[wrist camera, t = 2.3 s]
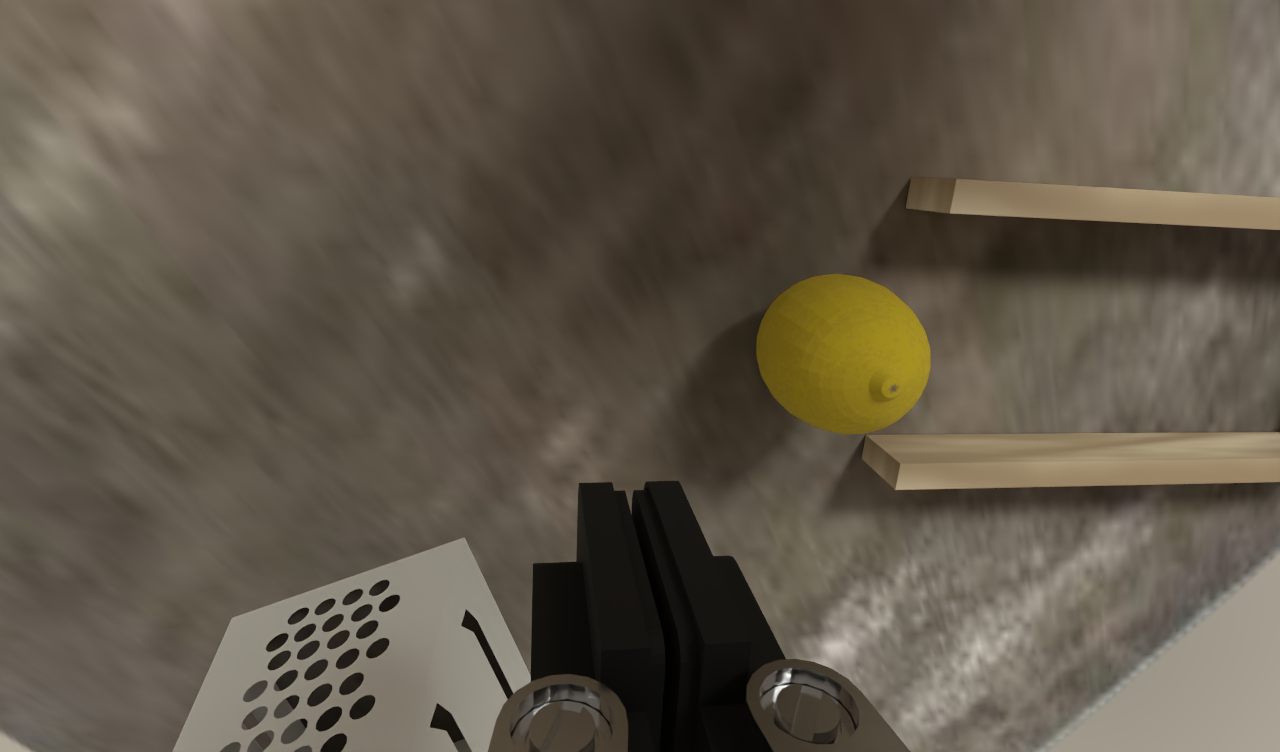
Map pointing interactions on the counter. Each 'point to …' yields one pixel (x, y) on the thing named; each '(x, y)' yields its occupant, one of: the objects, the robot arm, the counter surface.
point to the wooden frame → (1079, 453)
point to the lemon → (843, 354)
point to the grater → (366, 666)
